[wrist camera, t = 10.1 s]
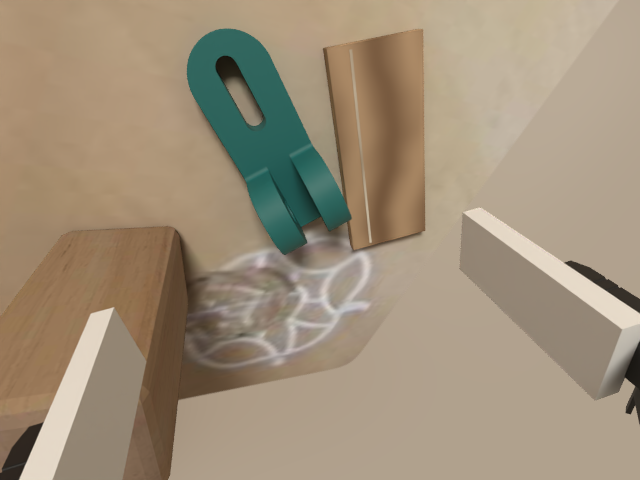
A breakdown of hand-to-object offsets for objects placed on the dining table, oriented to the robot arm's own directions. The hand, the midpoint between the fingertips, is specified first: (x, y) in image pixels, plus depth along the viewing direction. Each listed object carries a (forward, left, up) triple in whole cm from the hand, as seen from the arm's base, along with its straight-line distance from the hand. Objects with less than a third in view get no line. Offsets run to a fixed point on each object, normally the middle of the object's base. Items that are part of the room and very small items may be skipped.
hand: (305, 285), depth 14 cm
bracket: (+1, 0, -24) cm, 24 cm away
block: (-15, -10, -23) cm, 30 cm away
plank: (+12, -4, -23) cm, 26 cm away
